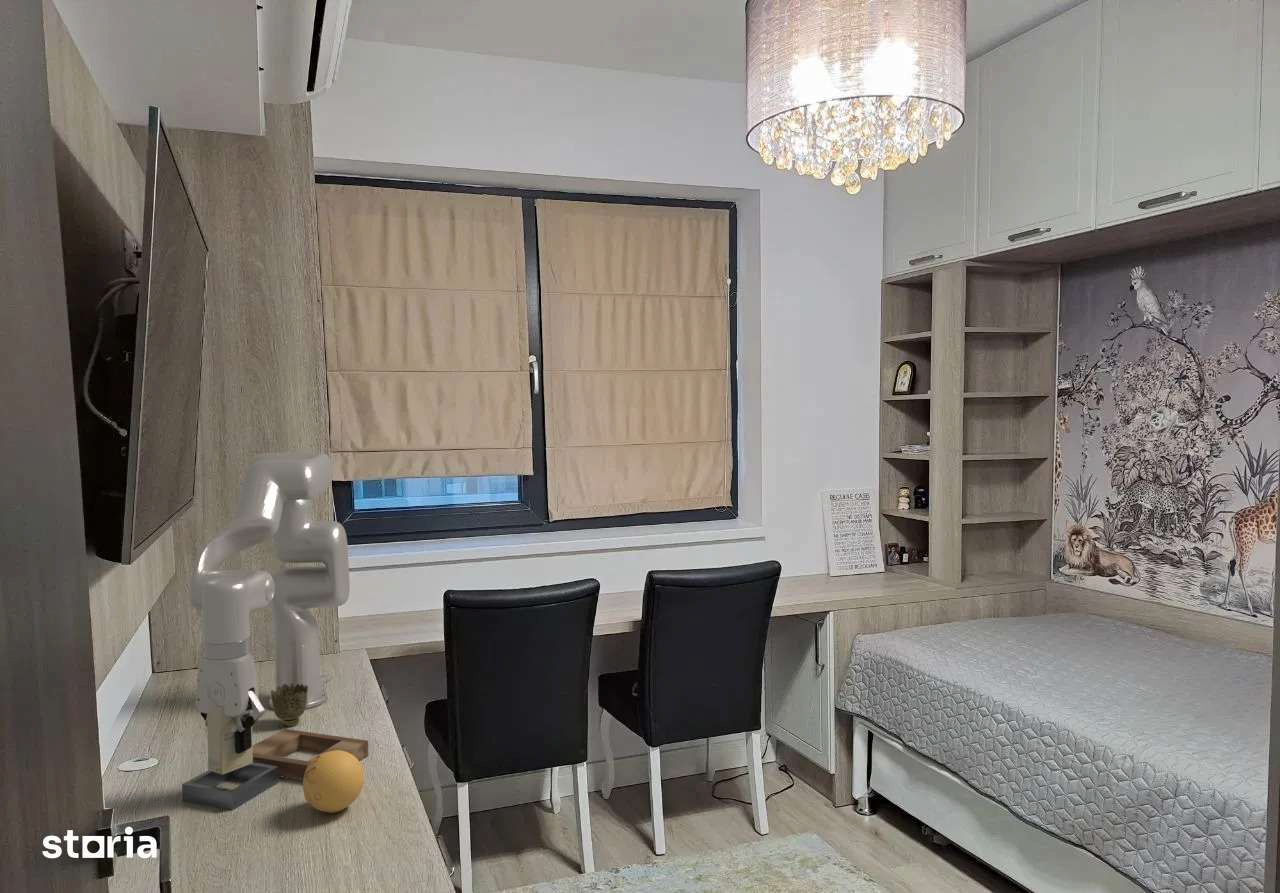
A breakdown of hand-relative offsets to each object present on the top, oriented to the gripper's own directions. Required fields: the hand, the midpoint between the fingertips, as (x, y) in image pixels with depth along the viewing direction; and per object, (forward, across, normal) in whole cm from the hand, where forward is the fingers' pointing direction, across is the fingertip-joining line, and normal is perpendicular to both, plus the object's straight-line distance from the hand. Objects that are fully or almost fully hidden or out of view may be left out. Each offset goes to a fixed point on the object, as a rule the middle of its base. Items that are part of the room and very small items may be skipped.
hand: (230, 747), depth 151 cm
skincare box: (+4, 0, 0) cm, 4 cm away
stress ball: (+8, +22, 0) cm, 23 cm away
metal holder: (+8, 0, 0) cm, 8 cm away
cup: (+8, -12, +29) cm, 32 cm away
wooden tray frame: (+8, +4, +14) cm, 17 cm away
